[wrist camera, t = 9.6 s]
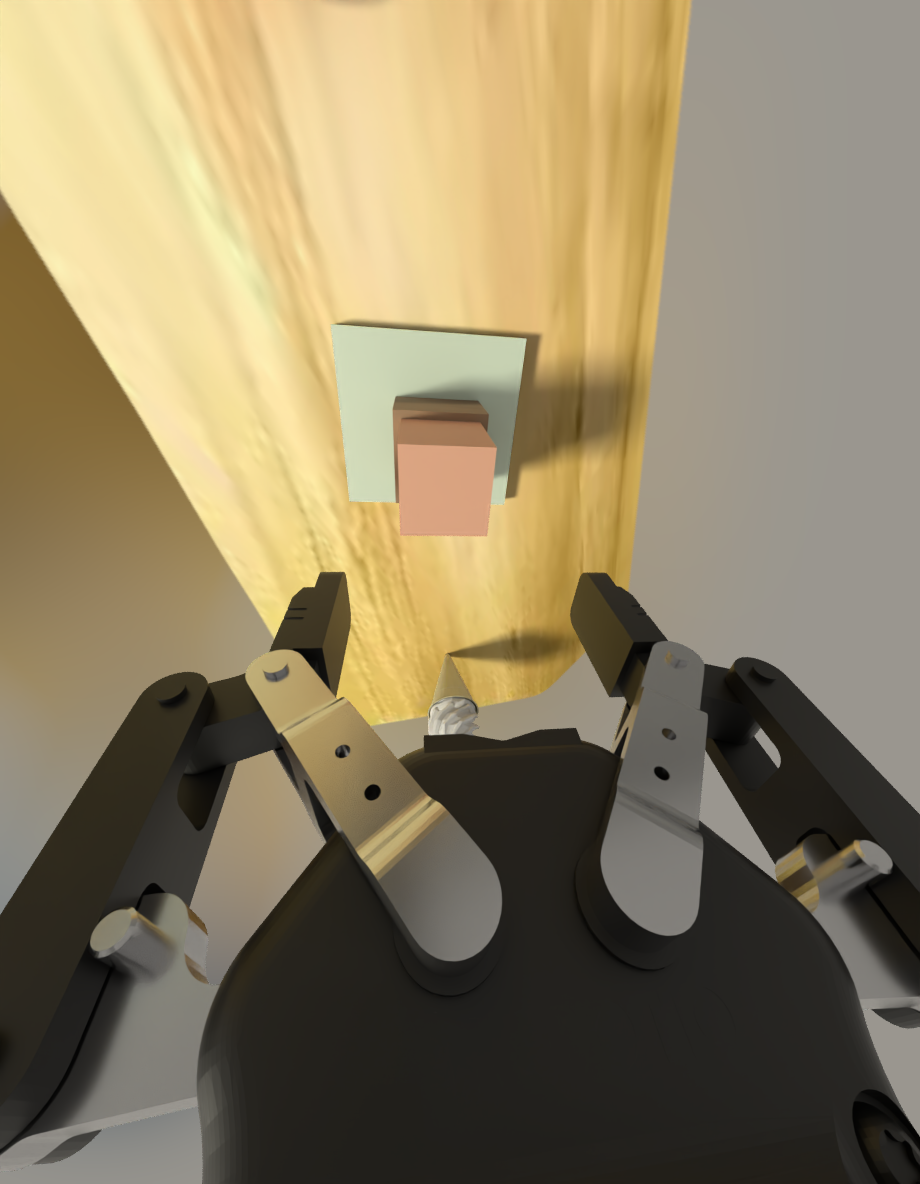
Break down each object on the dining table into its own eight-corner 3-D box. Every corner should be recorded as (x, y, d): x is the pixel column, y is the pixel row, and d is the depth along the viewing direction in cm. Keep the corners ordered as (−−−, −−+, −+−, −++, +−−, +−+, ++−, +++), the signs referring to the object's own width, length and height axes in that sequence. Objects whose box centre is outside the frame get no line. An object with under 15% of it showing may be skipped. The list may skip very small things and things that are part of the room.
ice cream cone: (418, 664, 45) (420, 792, 33) (436, 633, 43) (446, 759, 30) (456, 674, 47) (472, 800, 34) (476, 646, 44) (500, 770, 32)
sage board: (333, 324, 26) (330, 324, 25) (522, 337, 27) (526, 338, 26) (351, 495, 33) (349, 501, 32) (501, 499, 34) (504, 504, 33)
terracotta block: (400, 418, 24) (397, 443, 19) (480, 422, 24) (496, 447, 20) (402, 496, 27) (400, 535, 22) (473, 497, 27) (487, 536, 22)
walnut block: (395, 396, 28) (392, 409, 24) (478, 400, 28) (489, 414, 24) (398, 478, 31) (395, 502, 27) (471, 480, 32) (480, 504, 28)
